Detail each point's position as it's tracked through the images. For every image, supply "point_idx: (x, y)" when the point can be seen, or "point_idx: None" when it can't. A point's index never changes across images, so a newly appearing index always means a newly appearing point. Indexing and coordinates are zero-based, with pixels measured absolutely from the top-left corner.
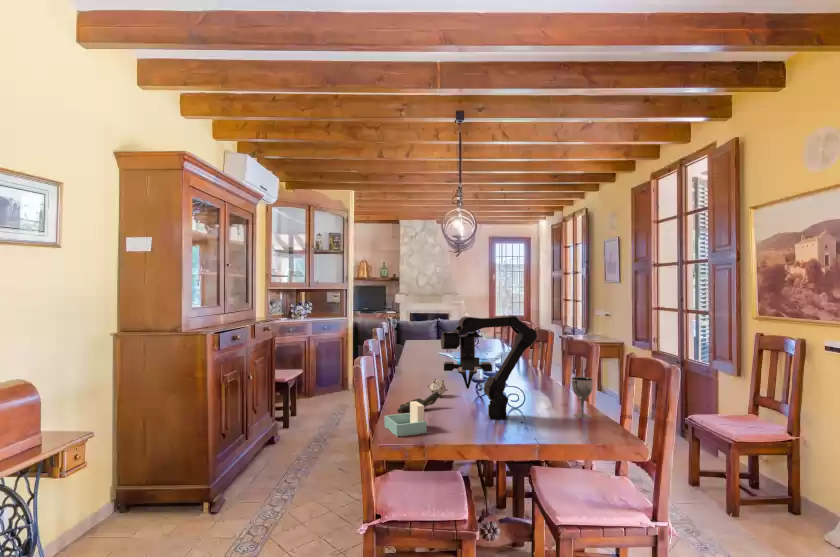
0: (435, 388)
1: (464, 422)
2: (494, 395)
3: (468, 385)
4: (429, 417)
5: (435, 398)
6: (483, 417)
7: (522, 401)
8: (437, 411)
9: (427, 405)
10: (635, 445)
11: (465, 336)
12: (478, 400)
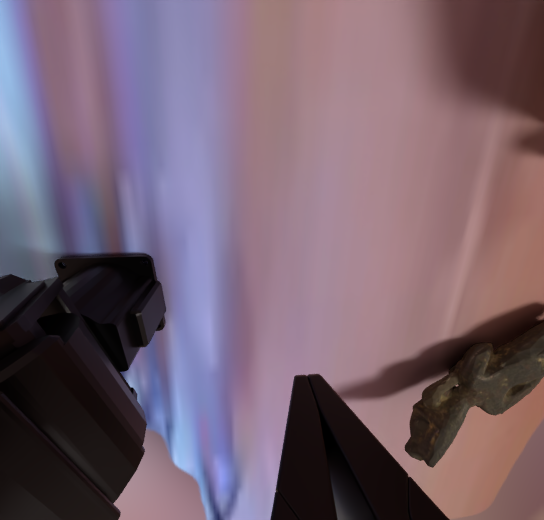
0: None
1: (291, 191)
2: (1, 314)
3: (306, 404)
4: (450, 263)
5: (422, 425)
6: (192, 287)
7: None
8: (396, 350)
9: (449, 374)
10: None
11: None
12: (224, 486)
